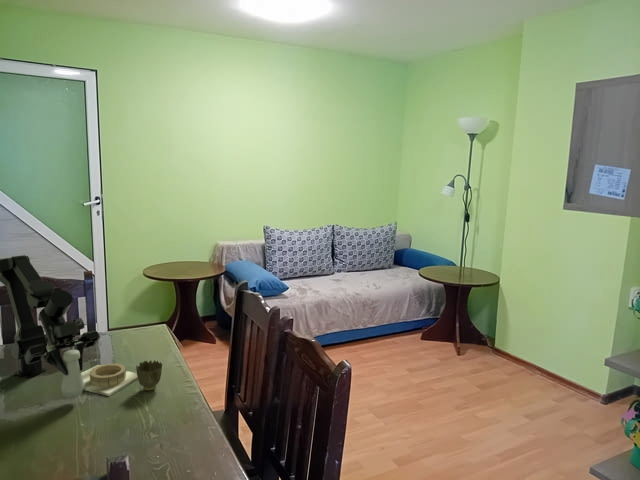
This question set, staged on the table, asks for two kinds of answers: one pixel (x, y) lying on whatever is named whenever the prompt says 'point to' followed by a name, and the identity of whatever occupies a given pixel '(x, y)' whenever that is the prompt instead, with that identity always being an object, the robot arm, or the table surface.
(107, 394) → the socket
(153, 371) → the cup
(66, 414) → the table surface
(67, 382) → the salt shaker
